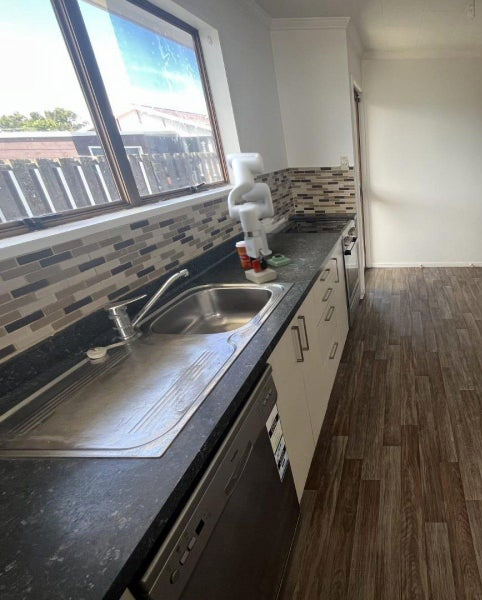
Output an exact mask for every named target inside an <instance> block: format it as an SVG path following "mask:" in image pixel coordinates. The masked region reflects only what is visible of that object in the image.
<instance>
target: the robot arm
mask: <svg viewBox="0 0 482 600" xmlns="http://www.w3.org/2000/svg"><path fill="white" fill-rule="evenodd" d="M226 162H227V164H228V166H229V167H230V169H231V170H232V175H233V181H234V186H233V188H232V189H231V190H230V191H229V194H228V196H227V206H228V214H229V217H230V219H231V220H232V221H234V222H240V223H241V228H242V232H243V233H242V234H243V237H244V241H245V247H246V252H247V255H248V256H249V258H251V259H250V263H251V266H253V264H252V261H253V260H257V259H259V261H260V267H261V270H265V269H267V268H268V263H267V260H268V259H267V257H268V256H270V255H272V254H273V251H272V250H270V249H269V244H268V237H267V233H266V228H265V225H264V224H263V222H262V221H261V220H260V219H269V218H272V217H274V215H275V209H274V204H273V199H272V192H271V189H270V186H269V184H267V183H265V182H255V177H254V175H262V174H264V172H265V171H264V168H265V166H264V159H263V157H262V155H261V154H260V152H232V153H228V154H227V155H226ZM239 198H242V199H243V200H244V201H247V202H245V203H243V204H239V205H238V204H237V205H236V204H235V203H236V201H237V200H238V199H239ZM261 258H262V259H261Z"/></svg>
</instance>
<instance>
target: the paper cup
mask: <svg viewBox="0 0 482 600" xmlns="http://www.w3.org/2000/svg"><path fill="white" fill-rule="evenodd" d="M235 243H236V244H235V247H236V249H237V253H238V256H239V259H240V263H241V266H242V269H251V268H253V266H251V263H250V259H251V258H249V256H248V255H247V252H246V247H245V240H241V241H238V242H235Z"/></svg>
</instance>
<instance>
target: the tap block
mask: <svg viewBox="0 0 482 600" xmlns="http://www.w3.org/2000/svg"><path fill="white" fill-rule="evenodd" d="M244 274H245V278H246V279H247V280H248V281H251V282H253V283H255V284H258V285H260V284H263V283H266V282H267V283H268V282H270V281H272V280H276V279H278V278H277V271H276V270H274V269H271V268H270V267H267V269H266V270H264V271H260V272H257V273H255V272H254V269H253V268H252V269H249V270H245V271H244Z"/></svg>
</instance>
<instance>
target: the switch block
mask: <svg viewBox="0 0 482 600" xmlns="http://www.w3.org/2000/svg"><path fill="white" fill-rule="evenodd" d="M281 256H282V257H280V258H275V255H274V256H272V258H270V259H266V263H267V265H271V266H273V267H276V268H278V267H282V266H285V265H289V264H291V263H292V260H291V259H290V258H287V257H285V255H283V254H281Z"/></svg>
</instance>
